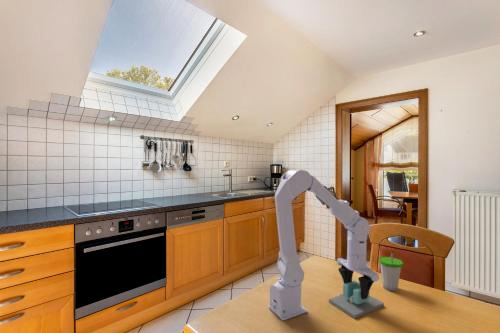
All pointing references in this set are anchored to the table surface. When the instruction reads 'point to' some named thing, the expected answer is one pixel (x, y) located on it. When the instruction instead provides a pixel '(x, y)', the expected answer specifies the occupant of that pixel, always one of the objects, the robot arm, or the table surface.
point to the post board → (355, 305)
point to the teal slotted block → (353, 292)
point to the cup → (390, 272)
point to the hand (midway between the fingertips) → (356, 293)
